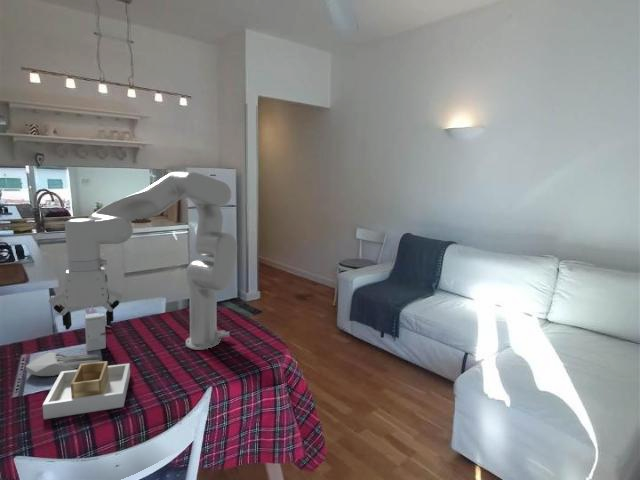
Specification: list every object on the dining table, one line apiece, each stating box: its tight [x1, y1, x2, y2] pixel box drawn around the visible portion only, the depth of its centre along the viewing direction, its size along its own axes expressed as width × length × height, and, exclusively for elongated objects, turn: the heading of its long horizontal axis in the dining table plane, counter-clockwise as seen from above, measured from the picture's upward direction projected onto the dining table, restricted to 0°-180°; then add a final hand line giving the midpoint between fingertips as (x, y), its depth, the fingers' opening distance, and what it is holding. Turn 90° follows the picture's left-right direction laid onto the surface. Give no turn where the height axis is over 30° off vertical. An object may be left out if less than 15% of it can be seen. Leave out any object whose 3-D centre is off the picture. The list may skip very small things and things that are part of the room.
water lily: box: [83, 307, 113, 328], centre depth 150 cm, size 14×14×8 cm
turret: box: [25, 352, 102, 377], centre depth 120 cm, size 10×20×5 cm, turn 128°
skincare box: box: [84, 312, 107, 352], centre depth 134 cm, size 6×4×12 cm
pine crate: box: [71, 360, 109, 399], centre depth 106 cm, size 7×11×6 cm, turn 21°
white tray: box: [42, 363, 131, 420], centre depth 107 cm, size 18×17×4 cm
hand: (89, 325), depth 104 cm, fingers open, 9 cm apart
